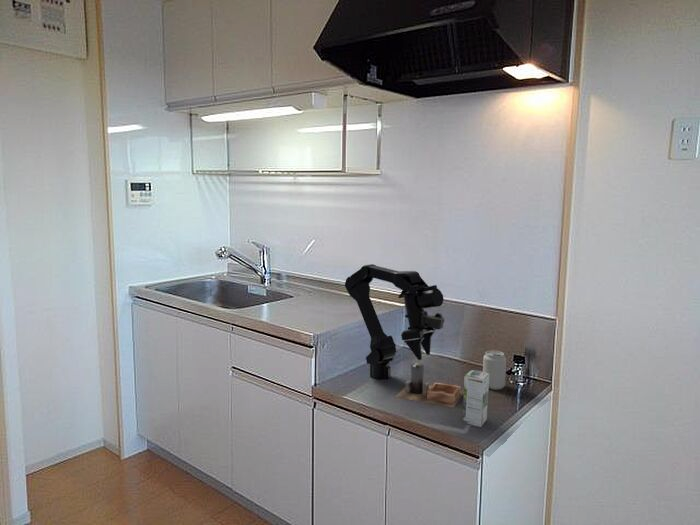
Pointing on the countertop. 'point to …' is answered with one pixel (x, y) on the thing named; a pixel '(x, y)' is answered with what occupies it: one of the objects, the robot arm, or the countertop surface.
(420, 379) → the cell
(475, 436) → the countertop surface
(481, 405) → the syrup box
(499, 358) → the can
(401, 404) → the countertop surface
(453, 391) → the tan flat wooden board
